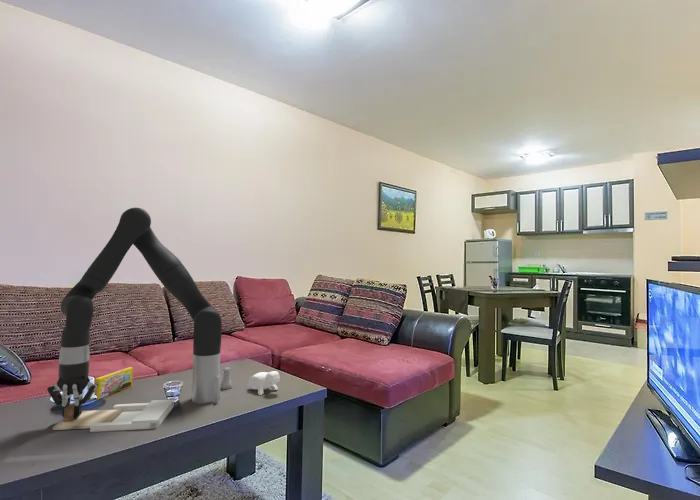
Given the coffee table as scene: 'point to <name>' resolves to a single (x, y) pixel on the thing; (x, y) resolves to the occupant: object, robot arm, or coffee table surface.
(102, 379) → the candy box
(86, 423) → the cover plate
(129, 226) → the robot arm
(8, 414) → the coffee table surface
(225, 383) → the rook chess piece
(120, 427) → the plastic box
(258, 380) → the white elephant figurine
